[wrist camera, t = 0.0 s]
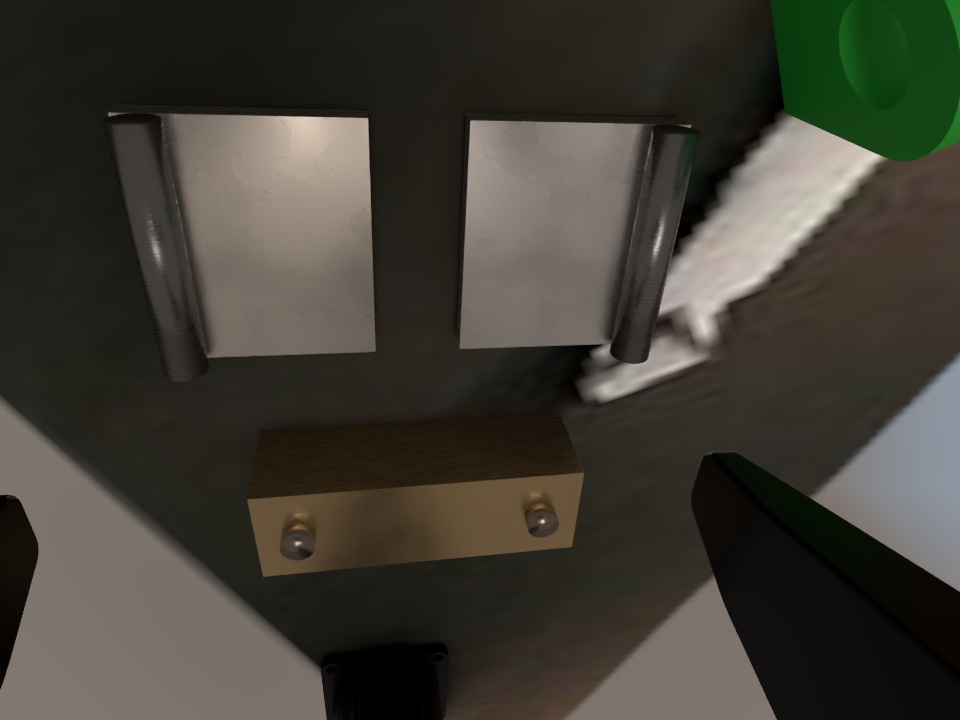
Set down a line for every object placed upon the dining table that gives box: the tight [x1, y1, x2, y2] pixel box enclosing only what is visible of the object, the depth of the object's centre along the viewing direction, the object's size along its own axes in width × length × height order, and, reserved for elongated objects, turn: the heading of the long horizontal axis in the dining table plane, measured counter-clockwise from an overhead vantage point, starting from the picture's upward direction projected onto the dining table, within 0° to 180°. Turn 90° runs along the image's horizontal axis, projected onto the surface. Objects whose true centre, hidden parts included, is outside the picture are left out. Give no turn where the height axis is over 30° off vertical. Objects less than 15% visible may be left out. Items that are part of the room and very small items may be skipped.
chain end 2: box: [456, 112, 700, 364], centre depth 22 cm, size 8×7×2 cm
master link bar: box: [247, 411, 584, 577], centre depth 26 cm, size 4×12×5 cm, turn 88°
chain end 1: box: [103, 104, 376, 382], centre depth 21 cm, size 8×7×2 cm
